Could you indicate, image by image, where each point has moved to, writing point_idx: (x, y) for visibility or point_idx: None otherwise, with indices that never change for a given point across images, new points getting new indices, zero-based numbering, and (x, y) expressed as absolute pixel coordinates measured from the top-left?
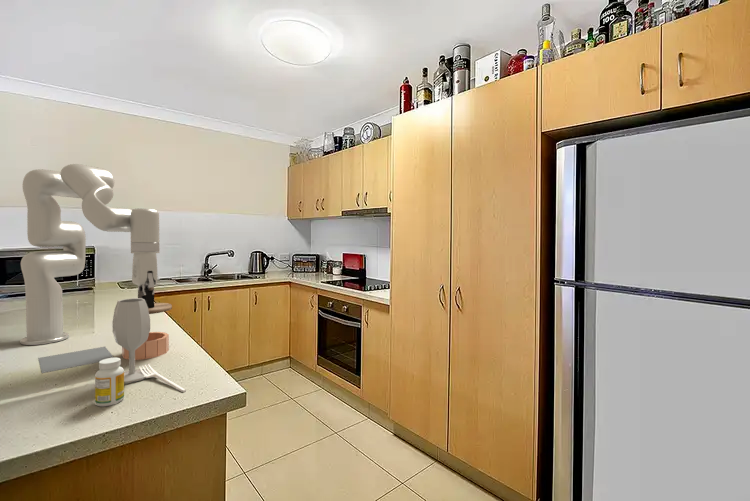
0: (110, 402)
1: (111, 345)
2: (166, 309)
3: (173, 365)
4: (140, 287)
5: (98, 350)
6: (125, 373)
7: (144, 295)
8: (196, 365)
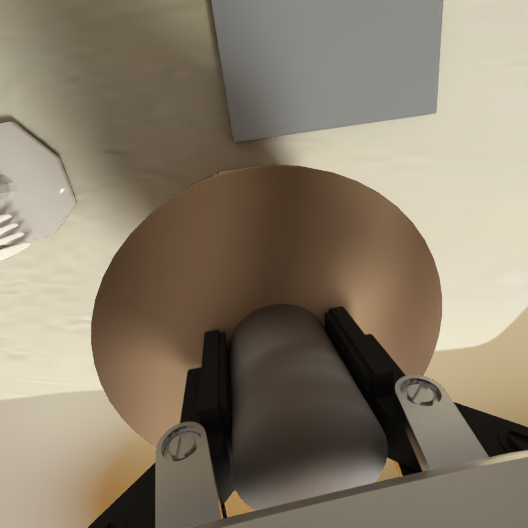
0: None
1: (468, 138)
2: None
3: (93, 305)
4: (419, 458)
5: (394, 87)
6: (17, 167)
7: (167, 435)
8: (61, 360)
